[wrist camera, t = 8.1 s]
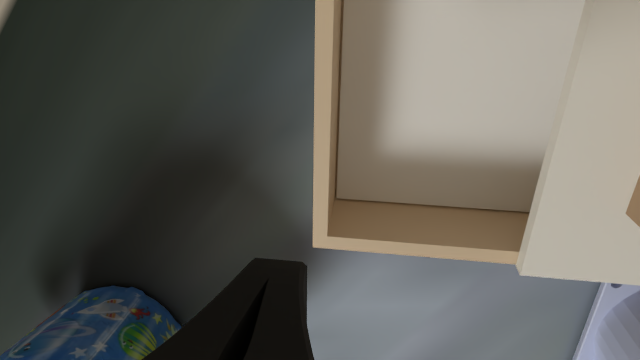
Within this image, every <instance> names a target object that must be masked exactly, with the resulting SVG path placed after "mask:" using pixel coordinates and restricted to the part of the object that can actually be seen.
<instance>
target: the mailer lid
mask: <svg viewBox="0 0 640 360" xmlns="http://www.w3.org/2000/svg"><path fill="white" fill-rule="evenodd" d="M516 268H517V270H518V272H519V274H520V275H523V276H534V277H546V278H558V279H569V280H581V281H592V282H604V283H616V284H627V285H639V286H640V0H585V3H584V7H583V11H582V15H581V18H580V22H579V26H578V30H577V34H576V38H575V41H574V45H573V49H572V53H571V57H570V60H569V64H568V68H567V72H566V76H565V80H564V83H563V87H562V91H561V95H560V99H559V102H558V106H557V110H556V114H555V118H554V122H553V125H552V129H551V133H550V137H549V141H548V144H547V148H546V152H545V156H544V160H543V164H542V167H541V171H540V175H539V179H538V183H537V186H536V190H535V194H534V198H533V202H532V206H531V209H530V213H529V217H528V221H527V225H526V228H525V232H524V236H523V240H522V244H521V248H520V251H519V255H518V259H517V263H516Z"/></svg>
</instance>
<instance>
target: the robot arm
mask: <svg viewBox="0 0 640 360" xmlns="http://www.w3.org/2000/svg"><path fill="white" fill-rule="evenodd" d="M141 360H314V357H313V353H312V348H311V344H310V339H309V334H308V329H307V266H306V265H305V264H304V263H303V262H296V261H285V260H273V259H262V258H255V259H253V260H252V261H251V262H250V263H249V264H248V265H247V266H246V267H245V268H244V269H243V270H242V271H241V272H240V273H239V274H238V275H237V276H236V277H235V279H234V280H233V281H232V282H231V283H230V284H229V285H228V286H227V287H226V288H225V289H224V290H223V291H222V292H221V293H219V294H218V295H217V296H216V297H215V298H214V299H213V300H212V301H211V302H210V303H209V304H208V305H207V306H206V307H205V308H204V309H203V310H201V311H200V312H199V313H198V314H197V315H196V316H195V317H194V318H192V319H191V320H190V321H189V322H188V323H187V324H185V325H184V326H183V327H182V328H181V329H180V330H178V331H177V332H176V333H175V334H174V335H173V336H171V337H170V338H169V339H168V340H166V341H165V342H164V343H163V344H161V345H160V346H159V347H157V348H156V349H155V350H153V351H152V352H151V353H149V354H148V355H147V356H145V357H144V358H143V359H141ZM572 360H640V286H639V285H627V284H616V283H604V282H601V284H600V287H599V290H598V292H597V295H596V298H595V300H594V303H593V306H592V308H591V311H590V314H589V316H588V319H587V322H586V324H585V327H584V330H583V332H582V335H581V338H580V340H579V343H578V346H577V348H576V351H575V354H574V356H573V359H572Z"/></svg>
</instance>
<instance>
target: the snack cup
mask: <svg viewBox="0 0 640 360" xmlns="http://www.w3.org/2000/svg"><path fill="white" fill-rule="evenodd" d="M181 328H182V327H181V325H180V324H179V323H177V322H176V321H175V320H174V318H173V316H172V315H171V314H170V312H169V311H168V310H167V309H166V308H165V307H163V306H162V305H161V304H160V303H158V302H157V301H156V300H154V299H152V298H150V297H148V296H147V295H145V293H144V292H143V291H141V290H139V289H137V288H134V287H129V288H124V287H118V286H109V287H100V288H96V289H92V290H89V291H84V292H82V293H81V294H80V295H78V296H76V297H75V298H74V299H72V300H71V301H70V302H69V303H67V304H66V305H64V306H62V307H61V308H60V309H59V310H57V311H56V312H55V313H53V314H52V315H51V316H50V317H48V318H47V319H46V320H44V321H43V322H42V323H41V324H39V325H38V326H37V327H36V328H34V329H33V330H32V331H31V332H29V333H28V334H27V335H25V336H24V337H23V338H22V339H21V340H19V341H18V342H17V343H16V344H14V345H13V346H12V347H10V348H9V349H8V350H6V351H5V352H4V353H3V354H2V355H1V356H0V360H141V359H143V358H144V357H145V356H147V355H148V354H149V353H151V352H152V351H153V350H155V349H156V348H157V347H159V346H160V345H161V344H163V343H164V342H165V341H166V340H168V339H169V338H170V337H171V336H173V335H174V334H175V333H176V332H177V331H178V330H180V329H181Z"/></svg>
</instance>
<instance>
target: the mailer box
mask: <svg viewBox="0 0 640 360" xmlns="http://www.w3.org/2000/svg"><path fill="white" fill-rule="evenodd" d="M584 3H585V0H315V87H314V175H313V247H315V248H327V249H338V250H350V251H362V252H374V253H386V254H398V255H410V256H422V257H434V258H446V259H458V260H469V261H481V262H493V263H505V264H516V263H517V259H518V255H519V251H520V248H521V244H522V240H523V236H524V232H525V228H526V225H527V221H528V217H529V213H530V209H531V206H532V202H533V198H534V194H535V190H536V186H537V183H538V179H539V175H540V171H541V167H542V164H543V160H544V156H545V152H546V148H547V144H548V141H549V137H550V133H551V129H552V125H553V122H554V118H555V114H556V110H557V106H558V102H559V99H560V95H561V91H562V87H563V83H564V80H565V76H566V72H567V68H568V64H569V60H570V57H571V53H572V49H573V45H574V41H575V38H576V34H577V30H578V26H579V22H580V18H581V15H582V11H583V7H584Z"/></svg>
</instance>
